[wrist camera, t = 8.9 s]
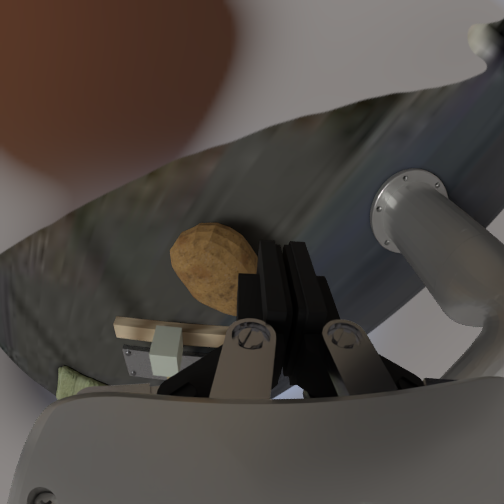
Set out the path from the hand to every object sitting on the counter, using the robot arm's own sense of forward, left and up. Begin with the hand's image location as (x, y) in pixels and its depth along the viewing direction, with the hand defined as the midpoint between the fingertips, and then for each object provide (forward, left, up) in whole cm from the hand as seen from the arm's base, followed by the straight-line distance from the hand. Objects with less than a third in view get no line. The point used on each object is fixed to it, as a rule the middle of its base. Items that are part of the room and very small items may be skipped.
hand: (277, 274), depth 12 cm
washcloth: (+34, +56, -27) cm, 71 cm away
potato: (+2, +15, -27) cm, 31 cm away
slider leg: (+10, +34, -25) cm, 43 cm away
